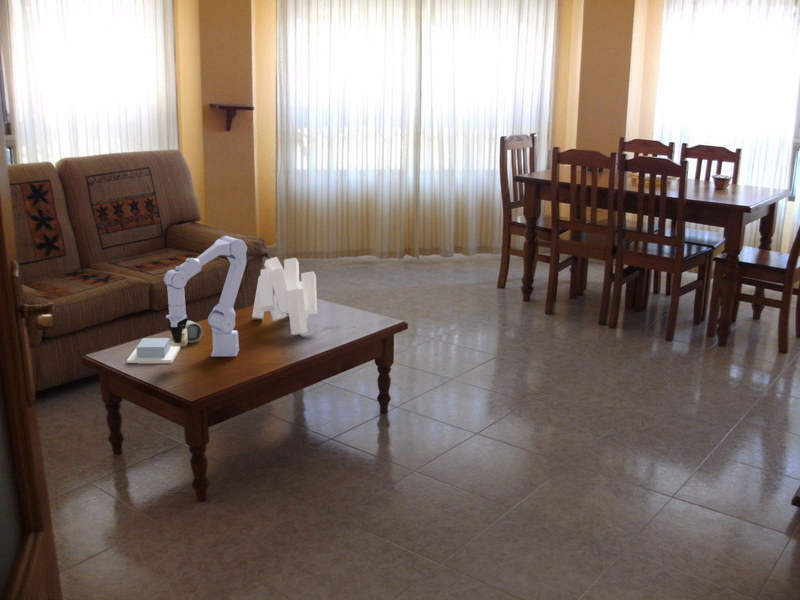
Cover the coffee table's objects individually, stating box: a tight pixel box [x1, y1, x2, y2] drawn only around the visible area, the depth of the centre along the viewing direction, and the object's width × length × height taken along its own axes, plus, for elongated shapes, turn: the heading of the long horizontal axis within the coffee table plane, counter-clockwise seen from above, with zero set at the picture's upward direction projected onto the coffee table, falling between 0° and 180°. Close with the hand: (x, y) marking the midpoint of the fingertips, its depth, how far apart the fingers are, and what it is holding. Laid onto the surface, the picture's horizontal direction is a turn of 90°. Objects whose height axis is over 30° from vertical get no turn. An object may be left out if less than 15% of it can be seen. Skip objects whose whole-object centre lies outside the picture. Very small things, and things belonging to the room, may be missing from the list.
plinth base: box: [126, 337, 181, 364], centre depth 308 cm, size 16×16×5 cm
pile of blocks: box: [251, 256, 318, 335], centre depth 346 cm, size 35×30×35 cm
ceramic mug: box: [185, 320, 203, 343], centre depth 325 cm, size 11×8×8 cm
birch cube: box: [169, 329, 189, 347], centre depth 297 cm, size 5×5×5 cm
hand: (179, 340), depth 298 cm, fingers closed on birch cube, 5 cm apart
